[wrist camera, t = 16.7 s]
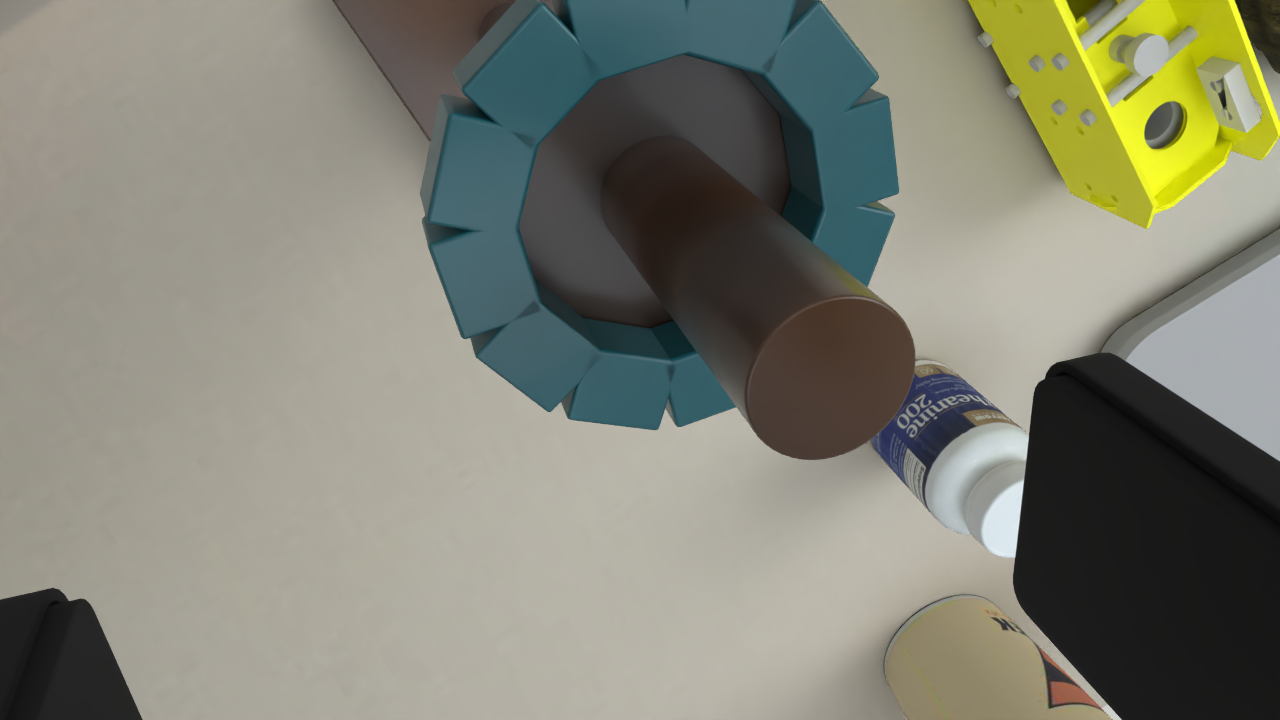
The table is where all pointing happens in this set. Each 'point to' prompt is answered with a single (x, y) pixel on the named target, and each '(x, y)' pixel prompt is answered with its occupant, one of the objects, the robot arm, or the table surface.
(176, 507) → the table surface
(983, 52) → the table surface
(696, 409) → the ring
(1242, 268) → the tablet
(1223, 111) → the yellow toy chassis
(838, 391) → the stand
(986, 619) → the beige lidded canister
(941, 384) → the pill bottle
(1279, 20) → the rock
